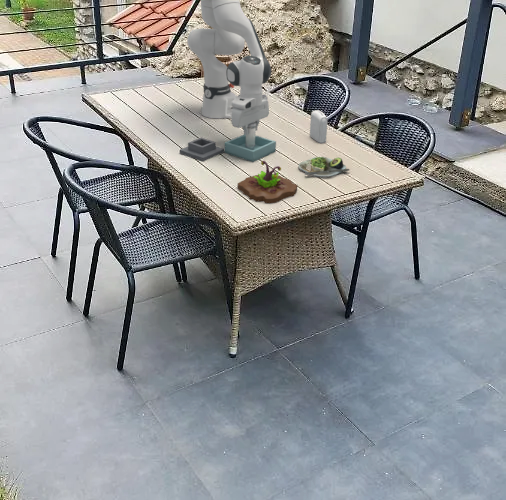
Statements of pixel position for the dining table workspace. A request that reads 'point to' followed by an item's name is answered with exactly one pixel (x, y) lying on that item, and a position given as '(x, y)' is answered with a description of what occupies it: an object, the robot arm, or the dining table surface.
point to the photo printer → (318, 126)
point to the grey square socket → (201, 149)
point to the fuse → (251, 136)
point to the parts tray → (251, 154)
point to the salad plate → (323, 167)
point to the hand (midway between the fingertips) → (250, 132)
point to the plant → (267, 186)
